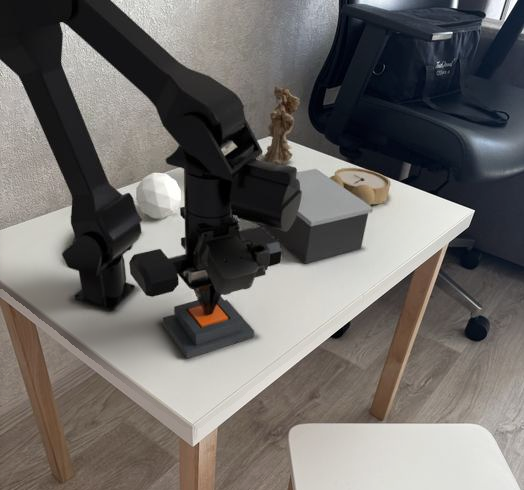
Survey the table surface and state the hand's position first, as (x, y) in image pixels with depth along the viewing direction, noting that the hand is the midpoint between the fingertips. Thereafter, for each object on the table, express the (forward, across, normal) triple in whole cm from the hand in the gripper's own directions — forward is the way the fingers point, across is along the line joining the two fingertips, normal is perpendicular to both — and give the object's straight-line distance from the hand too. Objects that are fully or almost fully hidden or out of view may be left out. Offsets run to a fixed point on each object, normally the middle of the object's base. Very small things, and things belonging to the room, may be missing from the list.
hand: (207, 313), depth 77 cm
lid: (-4, +28, +17) cm, 33 cm away
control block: (+3, 0, 0) cm, 3 cm away
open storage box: (+3, +28, +17) cm, 33 cm away
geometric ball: (+3, +7, +33) cm, 34 cm away
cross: (+3, +24, +41) cm, 48 cm away
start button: (+2, 0, 0) cm, 2 cm away
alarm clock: (+3, +45, +25) cm, 52 cm away
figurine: (+3, +40, +46) cm, 61 cm away
